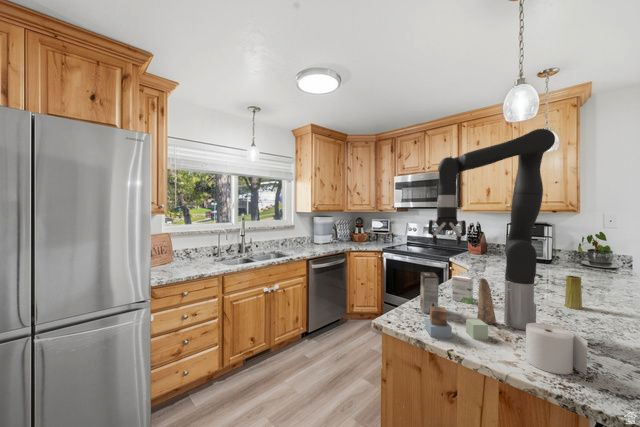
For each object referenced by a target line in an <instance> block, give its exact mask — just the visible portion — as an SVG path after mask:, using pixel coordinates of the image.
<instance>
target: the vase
mask: <svg viewBox="0 0 640 427" xmlns="http://www.w3.org/2000/svg"><path fill="white" fill-rule="evenodd" d="M565 277H566V278H565V296H564V307H566V308H568V307H569V309H572V308H573V309H572V310H582V309H583V298H582V297H583V296H582V277H580V276H578V275H577V276H576V275H566V276H565Z"/></svg>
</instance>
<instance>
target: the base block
mask: <svg viewBox="0 0 640 427" xmlns="http://www.w3.org/2000/svg"><path fill="white" fill-rule="evenodd" d="M424 321H425V322H424V330H425V331H426V332H427V334H428V336H429V337H430V338H438V339H439V338H442V339H452V335H453V334H452V329H453V328H452V326H451V325H450V324H449V323H448V322H447V326H440V325H432V324H431V321H430V318H424Z"/></svg>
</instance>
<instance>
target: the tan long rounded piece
mask: <svg viewBox="0 0 640 427" xmlns="http://www.w3.org/2000/svg"><path fill="white" fill-rule="evenodd" d="M477 303H478V305H477V309H478V310H477V315H476V316H477V317H476V319H480V320H482V321H483V322H484V323H486V324H487V325H495V324H497V318H496V313H495V310H494V304H493V299H492V294H491V288H490V285H489V283H488V280H487V279H485V278H483V277H482V278H480V280H479V283H478V302H477Z"/></svg>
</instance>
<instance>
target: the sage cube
mask: <svg viewBox="0 0 640 427" xmlns="http://www.w3.org/2000/svg"><path fill="white" fill-rule="evenodd" d="M465 333H466V334H467V335H468V336H469V337H470V338H472V339H473V340H489V324H486V323H484V322H483V321H482V320H480V319H477V318H476V319H474V318H472V319H471V318H469V319H468V318H466V319H465Z"/></svg>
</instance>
